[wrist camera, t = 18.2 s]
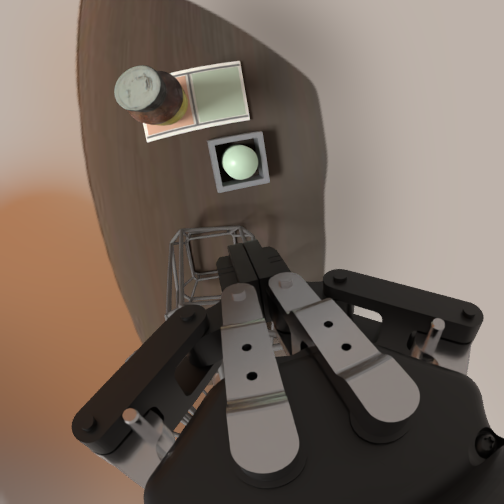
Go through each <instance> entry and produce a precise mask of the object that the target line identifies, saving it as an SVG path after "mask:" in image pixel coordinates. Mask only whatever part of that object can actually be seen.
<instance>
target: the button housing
mask: <svg viewBox="0 0 504 504" xmlns="http://www.w3.org/2000/svg"><path fill="white" fill-rule="evenodd" d="M252 138H254V144H255V150H256V155H257V158H258V169H259V175H255V176H251V177H249V178H247V179H242V180H239V179H235V180H231V181H226V182H222V181H221V176H220V171H219V166H218V161H217V155H216V150H215V145H219V144H224V143H229V142H234V141H240V140H246V139H252ZM207 143H208V148H209V153H210V158H211V163H212V168H213V173H214V178H215V183H216V188H217V191H218V193H222V192H226V191H231V190H235V189H240V188H245V187H250V186H255V185H260V184H265V183H270V179H269V172H268V165H267V158H266V152H265V145H264V139H263V132H262V131H254V132H248V133H242V134H236V135H231V136H226V137H220V138H215V139H211V140H207Z"/></svg>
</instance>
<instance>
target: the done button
mask: <svg viewBox="0 0 504 504" xmlns="http://www.w3.org/2000/svg"><path fill="white" fill-rule="evenodd" d="M221 164H222V166H223V168H224V170H225V171H226V172H227V174H228V175H229V176H231V177H232V178H234V179H239V180H242V179H247V178H249V177H251V176H252V175H253V174H254V173H255V171H256V170H257V167H258V158H257V155H256V153H255V152H254V151H253V150H252V149H251V148H249V147H246V146H244V145H241V144H234V145H231V146H229V147H227V148H226V149H225V150H224V152H223V153H222V156H221Z"/></svg>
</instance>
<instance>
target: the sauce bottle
mask: <svg viewBox="0 0 504 504" xmlns="http://www.w3.org/2000/svg"><path fill="white" fill-rule="evenodd" d="M115 98H116V101H117V103H118V104H119V105H120V106H121V107H122V108H124V109H126V110H128V113H130V115H131V116H132V117H133V118H134V119H136V120H137V121H139V122H142V123H145V124H150V125H160V126H167V125H172V124H174V123H176V122H178V121H179V120H180V119H181V118H182V117H183V116H184V115H185V113H186V111H187V107H188V99H187V95H186V94H185V92H184V90H183V88H182V86H181V85H180V83H179V81H178V80H177V79H176V78H175V77H174V76H173V75H171V74H169V73H167V72H163V71H156V70H154V69H153V68H151V67H148V66H136V67H133V68H130V69H128V70H127V71H125V72H124V73H123V74H122V75H121V76H120V77H119V79H118V81H117V82H116V86H115Z"/></svg>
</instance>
